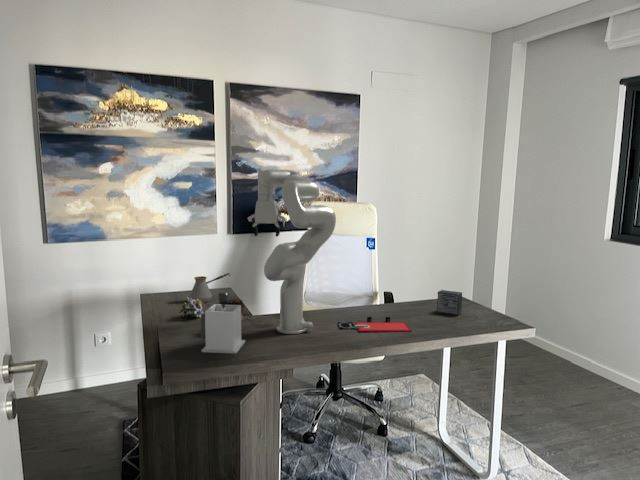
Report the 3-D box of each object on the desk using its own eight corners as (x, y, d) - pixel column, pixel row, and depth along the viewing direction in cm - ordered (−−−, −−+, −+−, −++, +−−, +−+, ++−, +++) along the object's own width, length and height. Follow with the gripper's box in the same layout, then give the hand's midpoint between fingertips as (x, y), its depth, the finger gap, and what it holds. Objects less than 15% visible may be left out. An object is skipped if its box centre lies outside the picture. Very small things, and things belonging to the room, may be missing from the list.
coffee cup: (234, 335, 192) (233, 304, 191) (219, 331, 197) (218, 301, 195) (248, 329, 199) (247, 299, 198) (233, 326, 204) (233, 297, 202)
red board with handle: (337, 322, 211) (341, 333, 197) (337, 316, 211) (341, 327, 196) (402, 322, 214) (411, 333, 199) (402, 316, 213) (411, 327, 199)
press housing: (245, 341, 184) (244, 304, 182) (236, 353, 171) (235, 313, 169) (208, 340, 185) (207, 303, 184) (196, 351, 172) (195, 312, 171)
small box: (462, 313, 229) (462, 292, 228) (458, 316, 224) (459, 294, 223) (440, 309, 235) (441, 289, 234) (436, 312, 229) (437, 291, 228)
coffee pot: (188, 304, 242) (187, 275, 240) (191, 299, 253) (190, 271, 251) (230, 303, 244) (229, 275, 242) (231, 298, 255) (231, 271, 254)
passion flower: (199, 329, 218) (200, 312, 210) (175, 325, 216) (176, 308, 209) (205, 310, 226) (206, 294, 218) (182, 306, 225) (182, 290, 217)
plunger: (237, 341, 182) (236, 290, 179) (231, 348, 173) (230, 295, 171) (216, 340, 182) (216, 290, 180) (210, 347, 174) (208, 295, 172)
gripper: (286, 198, 213) (286, 235, 215) (249, 197, 215) (249, 234, 217) (284, 198, 206) (284, 237, 208) (245, 198, 208) (245, 236, 210)
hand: (266, 236), depth 212 cm, fingers open, 9 cm apart
